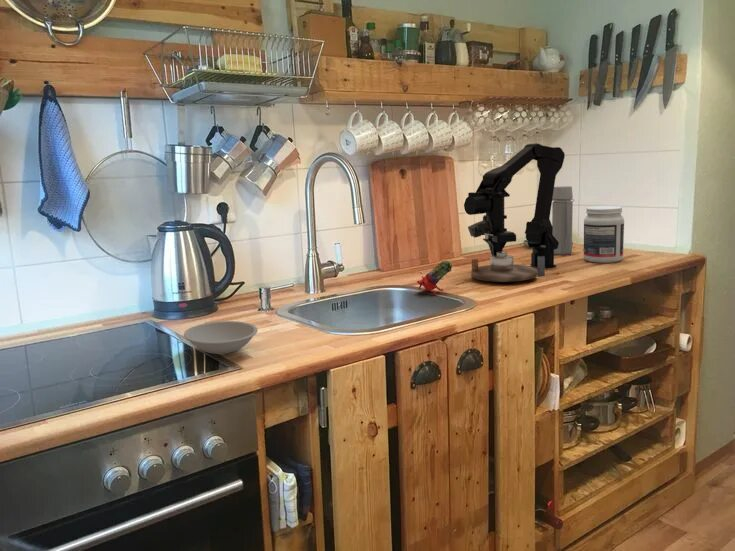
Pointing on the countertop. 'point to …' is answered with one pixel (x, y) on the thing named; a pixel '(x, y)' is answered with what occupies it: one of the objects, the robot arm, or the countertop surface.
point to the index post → (541, 265)
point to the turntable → (502, 273)
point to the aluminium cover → (501, 262)
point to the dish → (221, 336)
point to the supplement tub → (603, 234)
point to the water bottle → (562, 218)
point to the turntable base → (503, 282)
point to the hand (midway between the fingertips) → (495, 261)
